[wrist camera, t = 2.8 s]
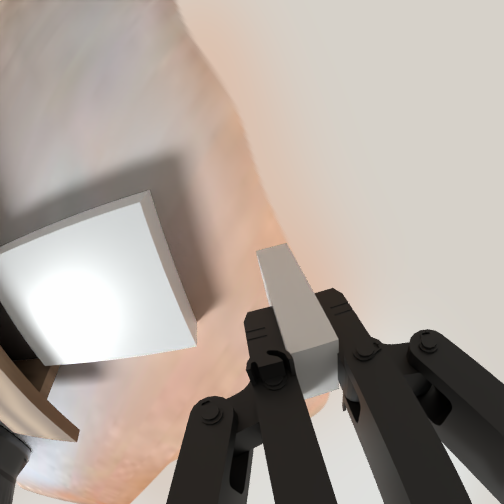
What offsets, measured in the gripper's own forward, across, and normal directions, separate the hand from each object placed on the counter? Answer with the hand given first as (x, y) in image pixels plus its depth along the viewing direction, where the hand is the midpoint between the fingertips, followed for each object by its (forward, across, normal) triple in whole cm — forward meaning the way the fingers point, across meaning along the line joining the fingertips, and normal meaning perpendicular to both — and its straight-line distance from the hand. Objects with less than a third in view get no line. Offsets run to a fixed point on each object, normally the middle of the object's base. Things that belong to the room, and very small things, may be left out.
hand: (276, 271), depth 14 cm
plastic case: (+5, -13, 0) cm, 14 cm away
